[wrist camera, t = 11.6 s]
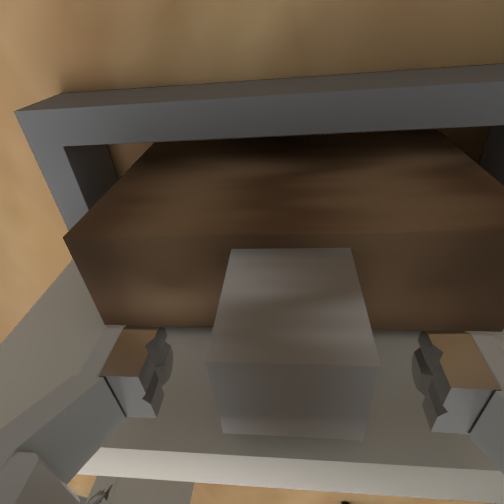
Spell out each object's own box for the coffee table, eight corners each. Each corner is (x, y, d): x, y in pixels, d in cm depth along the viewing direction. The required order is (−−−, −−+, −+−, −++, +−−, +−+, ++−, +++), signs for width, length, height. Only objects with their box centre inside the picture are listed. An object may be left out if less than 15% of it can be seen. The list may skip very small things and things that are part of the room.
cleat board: (550, 60, 14) (1310, 218, 4) (480, 241, 19) (707, 517, 9) (60, 93, 17) (-330, 243, 6) (117, 245, 22) (-40, 465, 11)
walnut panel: (436, 129, 16) (707, 357, 6) (418, 203, 18) (587, 462, 8) (154, 142, 18) (-37, 340, 7) (170, 209, 20) (43, 432, 10)
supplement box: (144, 402, 33) (80, 578, 23) (206, 430, 35) (174, 601, 25) (113, 428, 37) (47, 588, 27) (172, 452, 39) (131, 608, 29)
